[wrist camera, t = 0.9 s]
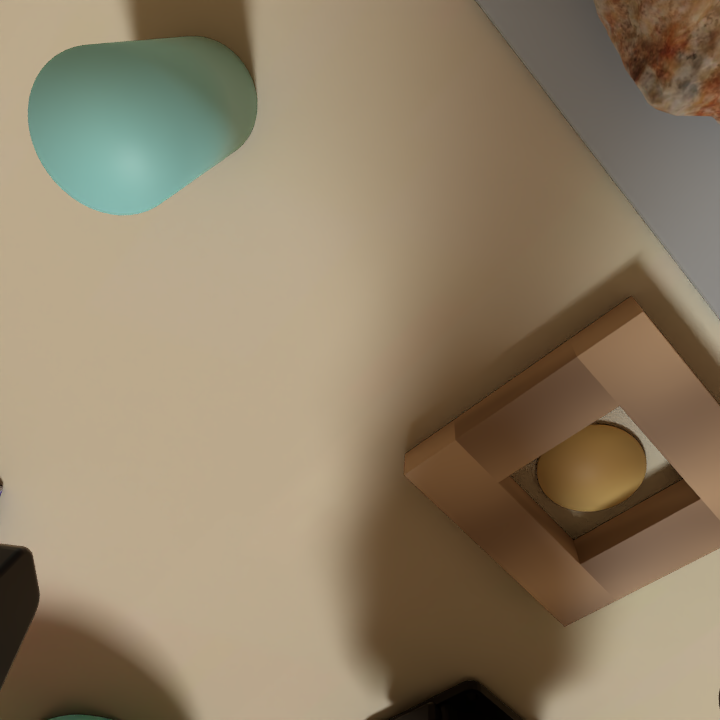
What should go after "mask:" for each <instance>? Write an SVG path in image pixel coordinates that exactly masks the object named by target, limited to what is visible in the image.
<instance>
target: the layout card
mask: <svg viewBox="0 0 720 720" xmlns="http://www.w3.org/2000/svg"><path fill="white" fill-rule="evenodd" d="M475 1H476V2H477V3H478V5H479V6H480V7H481V9H482V10H483V11H484V13H485V14H486V15H487V16H488V18H489V19H490V20H491V22H492V23H493V24H494V26H495V27H496V28H497V29H498V31H499V32H500V33H501V35H502V36H503V37H504V39H505V40H506V41H507V43H508V44H509V45H510V46H511V48H512V49H513V50H514V52H515V53H516V54H517V56H518V57H519V58H520V60H521V61H522V62H523V63H524V65H525V66H526V67H527V69H528V70H529V71H530V73H531V74H532V75H533V77H534V78H535V79H536V80H537V82H538V83H539V84H540V86H541V87H542V88H543V90H544V91H545V92H546V93H547V95H548V96H549V97H550V99H551V100H552V101H553V103H554V104H555V105H556V107H557V108H558V109H559V110H560V112H561V113H562V114H563V116H564V117H565V118H566V120H567V121H568V122H569V124H570V125H571V126H572V127H573V129H574V130H575V131H576V133H577V134H578V135H579V137H580V138H581V139H582V141H583V142H584V143H585V144H586V146H587V147H588V148H589V150H590V151H591V152H592V154H593V155H594V156H595V158H596V159H597V160H598V161H599V163H600V164H601V165H602V167H603V168H604V169H605V171H606V172H607V173H608V174H609V176H610V177H611V178H612V180H613V181H614V182H615V184H616V185H617V186H618V188H619V189H620V190H621V191H622V193H623V194H624V195H625V197H626V198H627V199H628V201H629V202H630V203H631V205H632V206H633V207H634V208H635V210H636V211H637V212H638V214H639V215H640V216H641V218H642V219H643V220H644V222H645V223H646V224H647V225H648V227H649V228H650V229H651V231H652V232H653V233H654V235H655V236H656V237H657V238H658V240H659V241H660V242H661V244H662V245H663V246H664V248H665V249H666V250H667V252H668V253H669V254H670V255H671V257H672V258H673V259H674V261H675V262H676V263H677V265H678V266H679V267H680V269H681V270H682V271H683V272H684V274H685V275H686V276H687V278H688V279H689V280H690V282H691V283H692V284H693V286H694V287H695V288H696V289H697V291H698V292H699V293H700V295H701V296H702V297H703V299H704V300H705V301H706V302H707V304H708V305H709V306H710V308H711V309H712V310H713V312H714V313H715V314H716V316H717V317H718V318H719V319H720V124H719V123H718V122H717V121H716V120H715V119H714V118H713V117H711V116H675V115H672V114H669V113H666V112H663V111H660V110H657V109H655V108H654V107H652V106H651V105H650V104H649V103H647V101H646V99H645V97H644V96H643V94H642V92H641V91H640V89H639V88H638V87H637V85H636V84H635V82H634V81H633V80H632V78H631V77H630V75H629V74H628V72H627V71H626V70H625V67H624V65H623V62H622V60H621V57H620V55H619V53H618V51H617V50H616V48H615V46H614V45H613V43H612V41H611V39H610V38H609V36H608V33H607V30H606V28H605V27H604V25H603V23H602V22H601V20H600V19H599V17H598V14H597V11H596V7H595V4H594V0H475Z"/></svg>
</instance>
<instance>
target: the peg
mask: <svg viewBox="0 0 720 720" xmlns="http://www.w3.org/2000/svg"><path fill="white" fill-rule="evenodd" d="M256 115H257V95H256V90H255V86H254V83H253V80H252V78H251V76H250V74H249V71H248V70H247V68H246V67H245V65H244V63H243V62H242V61H241V60H240V59H239V57H238V56H237V55H236V54H235V53H234V52H233V51H231V50H230V49H229V48H227V47H226V46H225V45H223V44H221V43H219V42H217V41H215V40H212V39H209V38H206V37H200V36H185V37H173V38H162V39H150V40H138V41H126V42H114V43H102V44H90V45H82V46H77V47H73V48H70V49H68V50H65V51H63V52H61V53H60V54H58V55H56V56H55V57H54V58H52V59H51V60H50V61H49V62H48V63H47V64H46V65H45V66H44V67H43V68H42V70H41V71H40V73H39V74H38V76H37V78H36V80H35V82H34V84H33V87H32V90H31V93H30V97H29V105H28V123H29V131H30V135H31V139H32V142H33V145H34V148H35V150H36V153H37V155H38V157H39V159H40V161H41V163H42V165H43V166H44V168H45V169H46V171H47V172H48V174H49V175H50V176H51V178H52V179H53V180H54V181H55V182H56V183H57V184H58V185H59V186H60V187H61V189H62V190H64V191H65V192H66V193H67V194H68V195H70V196H71V197H72V198H74V199H75V200H77V201H78V202H80V203H82V204H84V205H85V206H87V207H89V208H92V209H94V210H97V211H100V212H104V213H108V214H114V215H133V214H139V213H142V212H145V211H148V210H150V209H152V208H155V207H156V206H158V205H159V204H161V203H162V202H164V201H165V200H167V199H168V198H169V197H171V196H172V195H174V194H175V193H176V192H178V191H179V190H181V189H182V188H184V187H185V186H186V185H188V184H189V183H191V182H192V181H193V180H195V179H196V178H198V177H199V176H201V175H202V174H203V173H205V172H206V171H208V170H209V169H210V168H212V167H213V166H215V165H216V164H218V163H219V162H220V161H222V160H223V159H225V158H226V157H227V156H229V155H230V154H232V153H233V152H235V151H236V150H237V149H238V148H240V147H241V146H242V145H243V144H244V142H245V141H246V140H247V139H248V137H249V135H250V134H251V132H252V129H253V127H254V124H255V120H256Z"/></svg>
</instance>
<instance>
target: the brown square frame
mask: <svg viewBox="0 0 720 720" xmlns="http://www.w3.org/2000/svg"><path fill="white" fill-rule="evenodd" d="M619 406H620V407H621V408H622V409H623V410H624V411H625V412H626V414H627V415H628V416H629V417H630V418H631V419H632V420H633V422H634V423H635V424H636V425H637V426H638V427H639V428H640V430H641V431H642V432H643V433H644V434H645V435H646V436H647V438H648V439H649V440H650V441H651V442H652V443H653V444H654V446H655V447H656V448H657V449H658V450H659V451H660V452H661V454H662V455H663V456H664V457H665V458H666V459H667V460H668V462H669V463H670V464H671V465H672V466H673V467H674V468H675V470H676V471H677V472H678V473H679V474H680V475H681V476H682V478H683V479H682V480H680V481H678V482H677V483H675V484H673V485H671V486H670V487H668V488H666V489H664V490H662V491H661V492H659V493H657V494H655V495H654V496H652V497H650V498H648V499H646V500H645V501H643V502H641V503H639V504H638V505H636V506H634V507H632V508H630V509H629V510H627V511H625V512H623V513H622V514H620V515H618V516H616V517H614V518H613V519H611V520H609V521H607V522H606V523H604V524H602V525H600V526H598V527H597V528H595V529H593V530H591V531H590V532H588V533H586V534H584V535H582V536H581V537H579V538H577V539H575V540H573V539H572V538H571V537H570V536H569V535H568V534H567V533H566V532H565V531H564V530H563V529H562V528H561V527H560V526H559V525H558V524H557V523H556V522H555V521H554V520H553V519H552V518H551V517H550V516H549V515H548V514H547V513H546V512H545V511H544V510H543V509H542V508H541V507H540V506H539V505H538V504H537V503H536V502H535V501H534V500H533V499H532V498H531V497H530V496H529V495H528V494H527V493H526V492H525V491H524V490H523V489H522V488H521V487H520V486H519V485H518V484H517V483H516V482H515V481H514V480H513V479H512V478H511V477H510V476H509V475H511V474H513V473H514V472H516V471H517V470H519V469H521V468H522V467H524V466H525V465H527V464H528V463H530V462H532V461H533V460H535V459H536V458H538V457H540V458H539V460H538V464H537V477H538V481H539V484H540V487H541V489H542V490H543V492H544V493H545V494H546V496H547V497H548V498H550V499H551V500H552V501H553V502H555V503H556V504H558V505H560V506H562V507H565V508H567V509H571V510H575V511H586V512H589V511H599V510H604V509H607V508H610V507H613V506H616V505H618V504H620V503H622V502H623V501H625V500H626V499H628V498H629V497H630V496H631V495H632V494H633V493H634V492H635V491H636V490H637V489H638V488H639V486H640V485H641V483H642V481H643V479H644V476H645V473H646V457H645V454H644V451H643V449H642V447H641V445H640V444H639V443H638V441H637V440H636V439H635V438H634V437H633V436H631V435H630V434H629V433H627V432H625V431H623V430H622V429H619V428H616V427H613V426H609V425H602V424H592V423H593V422H595V421H596V420H598V419H600V418H601V417H603V416H604V415H606V414H607V413H609V412H611V411H612V410H614V409H615V408H617V407H619ZM590 424H591V425H590ZM404 476H405V477H406V478H408V479H409V480H410V481H411V482H412V483H413V484H414V485H415V486H416V487H417V488H418V489H419V490H420V491H421V492H422V493H423V494H424V495H426V496H427V497H428V498H429V499H430V500H431V501H432V502H433V503H434V504H435V505H436V506H437V507H438V508H439V509H440V510H441V511H443V512H444V513H445V514H446V515H447V516H448V517H449V518H450V519H451V520H452V521H453V522H454V523H455V524H456V525H457V526H458V527H460V528H461V529H462V530H463V531H464V532H465V533H466V534H467V535H468V536H469V537H470V538H471V539H472V540H473V541H474V542H475V543H476V544H478V545H479V546H480V547H481V548H482V549H483V550H484V551H485V552H486V553H487V554H488V555H489V556H490V557H491V558H492V559H493V560H495V561H496V562H497V563H498V564H499V565H500V566H501V567H502V568H503V569H504V570H505V571H506V572H507V573H508V574H509V575H510V576H511V577H513V578H514V579H515V580H516V581H517V582H518V583H519V584H520V585H521V586H522V587H523V588H524V589H525V590H526V591H527V592H528V593H530V594H531V595H532V596H533V597H534V598H535V599H536V600H537V601H538V602H539V603H540V604H541V605H542V606H543V607H544V608H545V609H547V610H548V611H549V612H550V613H551V614H552V615H553V616H554V617H555V618H556V619H557V620H558V621H559V622H560V623H561V624H562V625H563V626H567V625H569V624H571V623H573V622H575V621H577V620H579V619H581V618H583V617H585V616H587V615H589V614H591V613H593V612H595V611H597V610H599V609H601V608H603V607H605V606H607V605H609V604H611V603H612V602H614V601H616V600H618V599H620V598H622V597H624V596H626V595H628V594H630V593H632V592H634V591H636V590H638V589H640V588H642V587H644V586H646V585H648V584H650V583H652V582H654V581H656V580H658V579H660V578H662V577H664V576H666V575H668V574H670V573H672V572H674V571H676V570H678V569H679V568H681V567H683V566H685V565H687V564H689V563H691V562H693V561H695V560H697V559H699V558H701V557H703V556H705V555H707V554H709V553H711V552H713V551H715V550H717V549H719V548H720V405H719V403H718V402H717V401H716V400H715V398H714V397H713V396H712V395H711V394H710V392H709V391H708V390H707V389H706V387H705V386H704V385H703V384H702V382H701V381H700V380H699V379H698V377H697V376H696V375H695V374H694V372H693V371H692V370H691V369H690V368H689V366H688V365H687V364H686V363H685V361H684V360H683V359H682V358H681V356H680V355H679V354H678V353H677V351H676V350H675V349H674V348H673V347H672V345H671V344H670V343H669V342H668V340H667V339H666V338H665V337H664V335H663V334H662V333H661V332H660V330H659V329H658V328H657V327H656V325H655V324H654V323H653V322H652V321H651V319H650V318H649V317H648V316H647V314H646V313H645V312H644V311H643V309H642V308H641V307H640V306H639V304H638V303H637V302H636V301H635V299H634V298H633V297H632V296H631V297H629V298H628V299H626V300H625V301H623V302H622V303H620V304H619V305H618V306H616V307H615V308H613V309H612V310H610V311H609V312H608V313H606V314H605V315H603V316H602V317H600V318H599V319H598V320H596V321H595V322H593V323H592V324H590V325H589V326H588V327H586V328H585V329H583V330H582V331H580V332H579V333H578V334H576V335H575V336H573V337H572V338H570V339H569V340H568V341H566V342H565V343H563V344H562V345H560V346H559V347H558V348H556V349H555V350H553V351H552V352H550V353H549V354H548V355H546V356H545V357H543V358H542V359H540V360H539V361H537V362H536V363H535V364H533V365H532V366H530V367H529V368H527V369H526V370H525V371H523V372H522V373H520V374H519V375H517V376H516V377H515V378H513V379H512V380H510V381H509V382H507V383H506V384H505V385H503V386H502V387H500V388H499V389H497V390H496V391H495V392H493V393H492V394H490V395H489V396H487V397H486V398H485V399H483V400H482V401H480V402H479V403H477V404H476V405H475V406H473V407H472V408H470V409H469V410H467V411H466V412H464V413H463V414H462V415H460V416H459V417H457V418H456V419H454V420H453V421H452V422H450V423H449V424H447V425H446V426H444V427H443V428H442V429H440V430H439V431H437V432H436V433H434V434H433V435H432V436H430V437H429V438H427V439H426V440H424V441H423V442H422V443H420V444H419V445H417V446H416V447H414V448H413V449H412V450H410V451H409V452H407V453H406V454H405V464H404Z"/></svg>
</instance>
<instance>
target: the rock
mask: <svg viewBox="0 0 720 720" xmlns="http://www.w3.org/2000/svg"><path fill="white" fill-rule="evenodd" d="M594 4H595V7H596V11H597V14H598V17H599V19H600V20H601V22H602V23H603V25H604V27H605V28H606V30H607V33H608V36H609V38H610V39H611V41H612V43H613V45H614V46H615V48H616V50H617V51H618V53H619V55H620V57H621V60H622V62H623V65H624V67H625V70H626V71H627V72H628V74H629V75H630V77H631V78H632V80H633V81H634V82H635V84H636V85H637V87H638V88H639V89H640V91H641V92H642V94H643V96H644V97H645V99H646V101H647V103H649V104H650V105H651V106H652V107H654V108H655V109H657V110H660V111H663V112H666V113H669V114H672V115H675V116H711V117H713V118H714V119H715V120H716V121H717V122H718V123H719V124H720V0H594Z"/></svg>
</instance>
